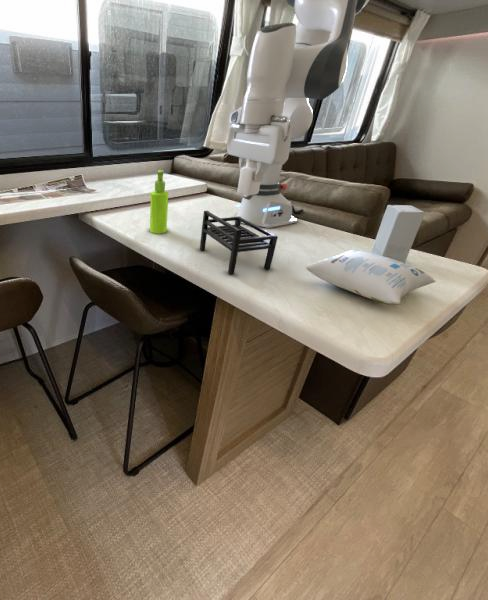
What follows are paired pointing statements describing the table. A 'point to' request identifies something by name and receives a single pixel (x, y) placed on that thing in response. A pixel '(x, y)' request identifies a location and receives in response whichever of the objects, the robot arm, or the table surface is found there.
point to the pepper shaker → (248, 179)
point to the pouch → (371, 275)
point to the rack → (237, 238)
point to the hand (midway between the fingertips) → (250, 179)
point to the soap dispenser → (159, 206)
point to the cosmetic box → (397, 232)
